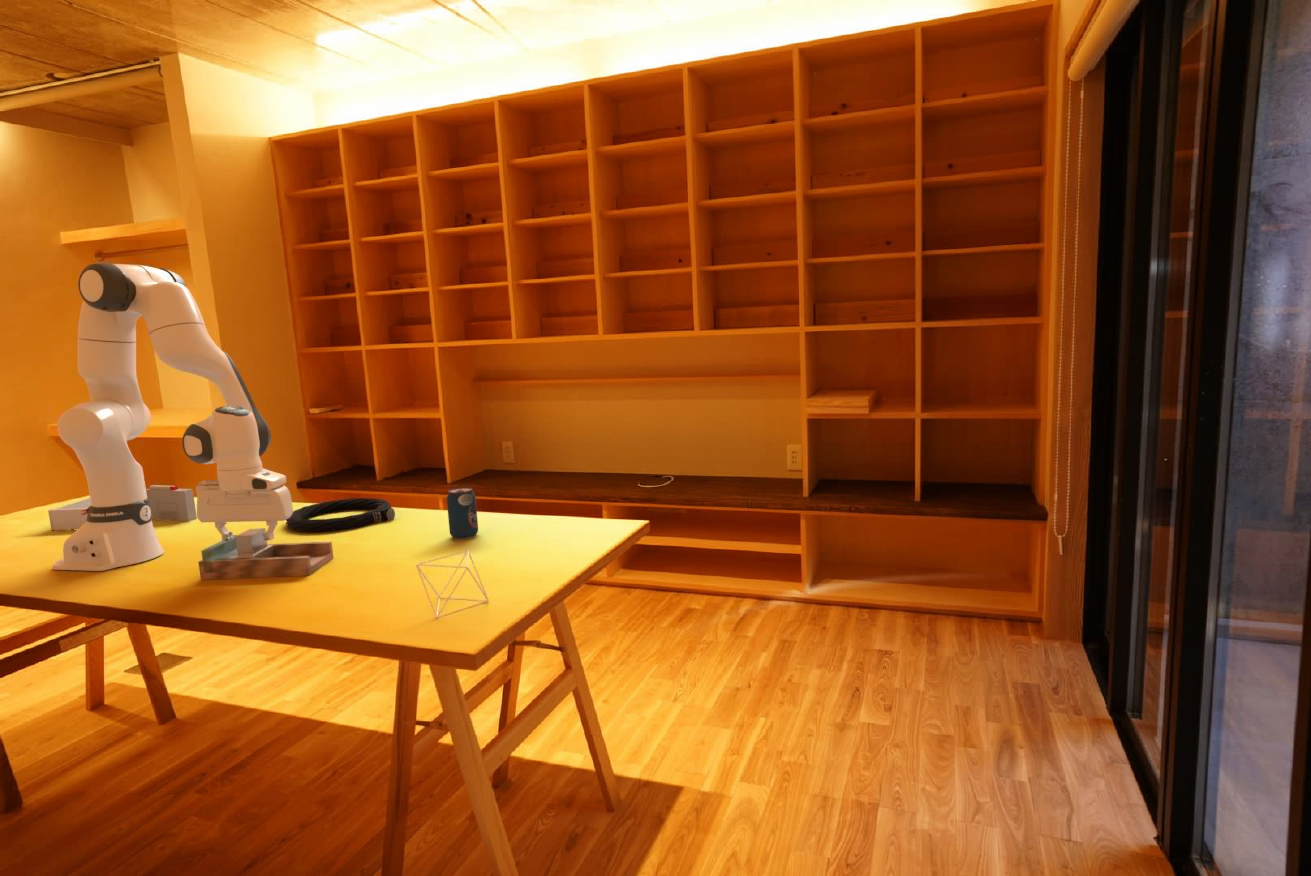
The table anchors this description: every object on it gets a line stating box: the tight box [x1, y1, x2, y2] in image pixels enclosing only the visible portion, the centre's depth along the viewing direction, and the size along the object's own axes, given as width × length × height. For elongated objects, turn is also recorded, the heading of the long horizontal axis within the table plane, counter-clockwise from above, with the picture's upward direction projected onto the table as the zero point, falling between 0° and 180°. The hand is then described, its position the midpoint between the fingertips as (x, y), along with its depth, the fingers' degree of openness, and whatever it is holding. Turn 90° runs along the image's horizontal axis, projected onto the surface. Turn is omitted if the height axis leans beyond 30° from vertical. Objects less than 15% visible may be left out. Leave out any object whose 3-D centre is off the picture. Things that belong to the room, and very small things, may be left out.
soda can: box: [446, 486, 479, 541], centre depth 189 cm, size 7×7×12 cm
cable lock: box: [285, 497, 396, 533], centre depth 213 cm, size 28×4×30 cm
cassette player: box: [146, 484, 198, 522], centre depth 223 cm, size 16×3×10 cm, turn 71°
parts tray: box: [47, 497, 91, 531], centre depth 227 cm, size 13×23×6 cm, turn 179°
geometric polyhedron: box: [415, 550, 489, 619], centre depth 143 cm, size 12×11×9 cm
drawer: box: [197, 534, 334, 581], centre depth 171 cm, size 24×12×6 cm, turn 89°
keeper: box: [216, 527, 275, 560], centre depth 171 cm, size 8×9×7 cm
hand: (248, 540), depth 171 cm, fingers open, 8 cm apart
